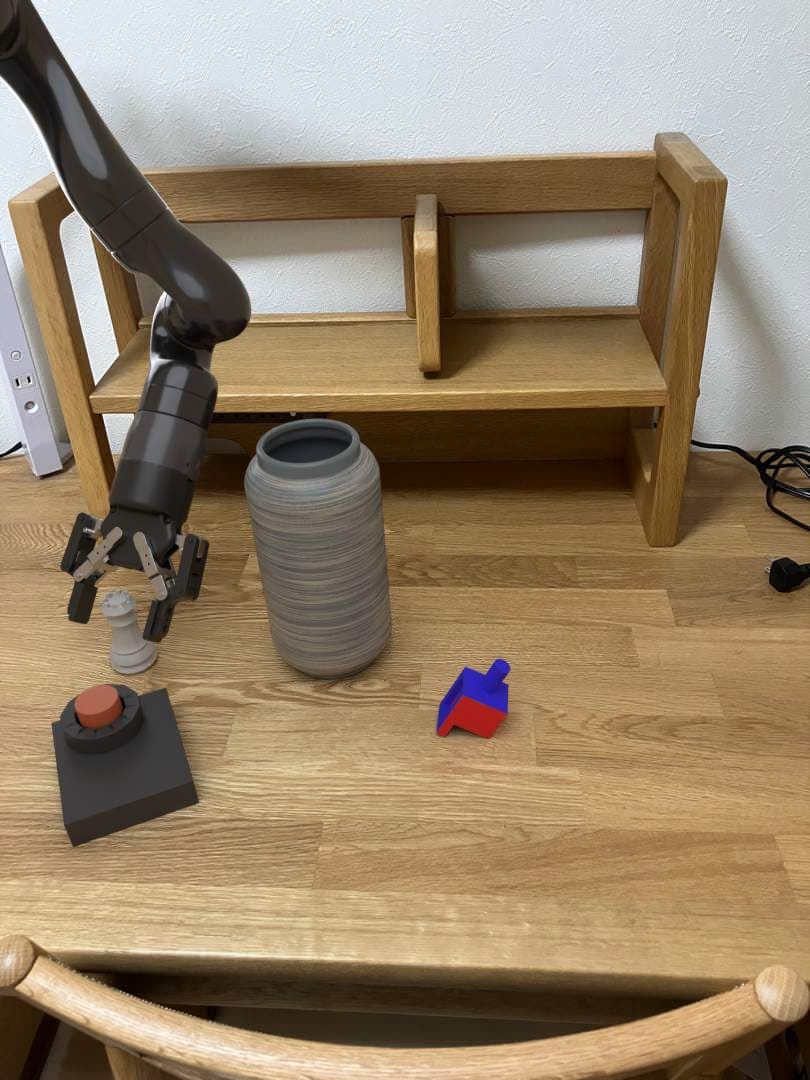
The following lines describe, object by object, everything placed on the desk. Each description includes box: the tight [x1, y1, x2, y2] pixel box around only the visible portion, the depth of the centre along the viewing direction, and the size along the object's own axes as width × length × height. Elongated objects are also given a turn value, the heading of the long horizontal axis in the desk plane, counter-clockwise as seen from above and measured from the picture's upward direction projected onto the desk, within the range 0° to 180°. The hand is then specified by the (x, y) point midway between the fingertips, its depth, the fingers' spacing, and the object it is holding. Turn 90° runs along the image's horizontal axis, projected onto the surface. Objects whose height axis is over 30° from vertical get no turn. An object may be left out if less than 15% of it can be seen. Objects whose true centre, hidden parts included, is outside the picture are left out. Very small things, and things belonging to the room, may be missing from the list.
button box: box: [51, 683, 200, 848], centre depth 75 cm, size 13×10×4 cm
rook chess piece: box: [100, 588, 158, 676], centre depth 86 cm, size 4×4×8 cm
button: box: [74, 684, 123, 729], centre depth 76 cm, size 4×4×2 cm
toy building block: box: [435, 658, 512, 740], centre depth 77 cm, size 4×4×8 cm
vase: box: [243, 418, 393, 680], centre depth 81 cm, size 12×12×23 cm
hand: (114, 632), depth 84 cm, fingers open, 8 cm apart
